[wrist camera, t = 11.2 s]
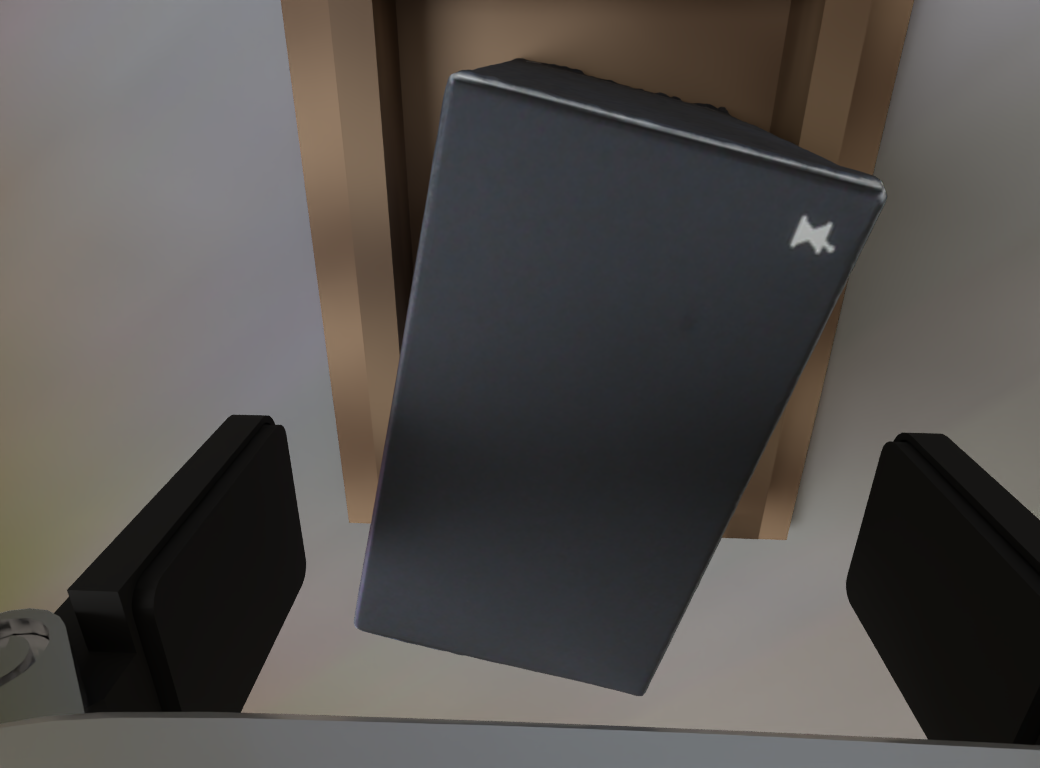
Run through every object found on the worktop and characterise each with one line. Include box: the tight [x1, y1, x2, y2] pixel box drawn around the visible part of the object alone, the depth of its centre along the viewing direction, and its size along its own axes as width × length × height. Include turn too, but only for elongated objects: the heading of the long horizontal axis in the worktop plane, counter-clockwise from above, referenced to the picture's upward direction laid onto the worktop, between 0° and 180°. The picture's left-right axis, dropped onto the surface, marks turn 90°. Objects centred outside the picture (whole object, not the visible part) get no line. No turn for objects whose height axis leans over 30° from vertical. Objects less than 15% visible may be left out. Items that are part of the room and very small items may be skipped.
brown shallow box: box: [281, 0, 914, 540], centre depth 19 cm, size 20×16×4 cm
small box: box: [354, 58, 887, 696], centre depth 15 cm, size 11×6×10 cm, turn 167°
